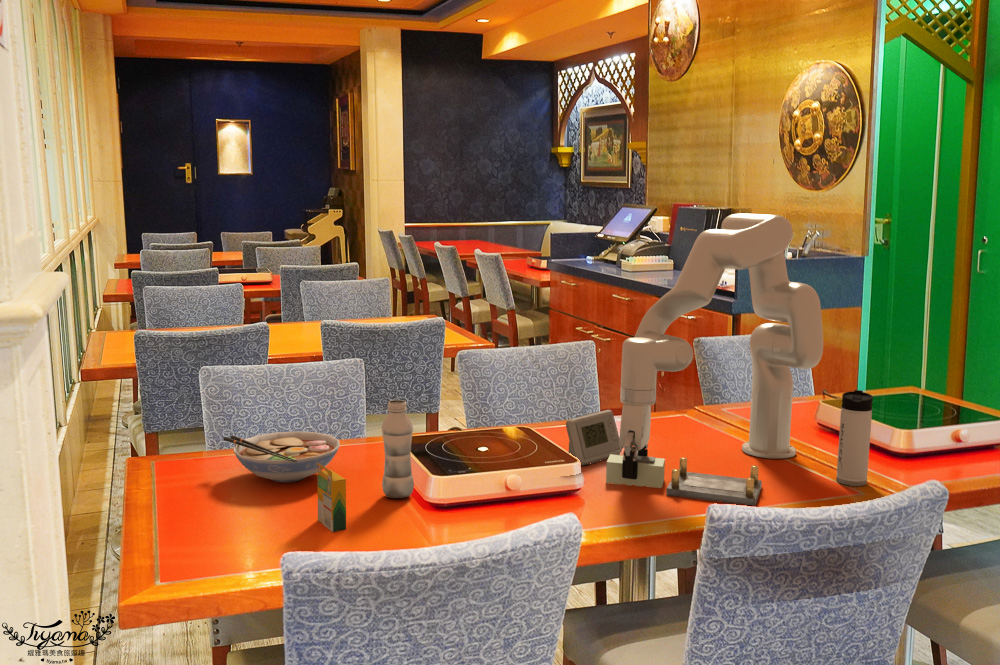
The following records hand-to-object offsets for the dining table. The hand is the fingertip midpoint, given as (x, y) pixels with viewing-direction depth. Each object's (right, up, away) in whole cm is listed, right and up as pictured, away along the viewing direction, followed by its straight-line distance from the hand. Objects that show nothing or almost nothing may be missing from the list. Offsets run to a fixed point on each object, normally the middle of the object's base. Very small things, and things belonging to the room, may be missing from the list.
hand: (634, 472), depth 199 cm
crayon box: (-61, -6, -27) cm, 67 cm away
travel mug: (+48, -3, +1) cm, 48 cm away
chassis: (+16, -3, -6) cm, 17 cm away
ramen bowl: (-76, -2, +1) cm, 76 cm away
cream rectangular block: (0, -2, +1) cm, 2 cm away
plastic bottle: (-50, -4, -11) cm, 52 cm away
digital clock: (-7, 0, +17) cm, 18 cm away
